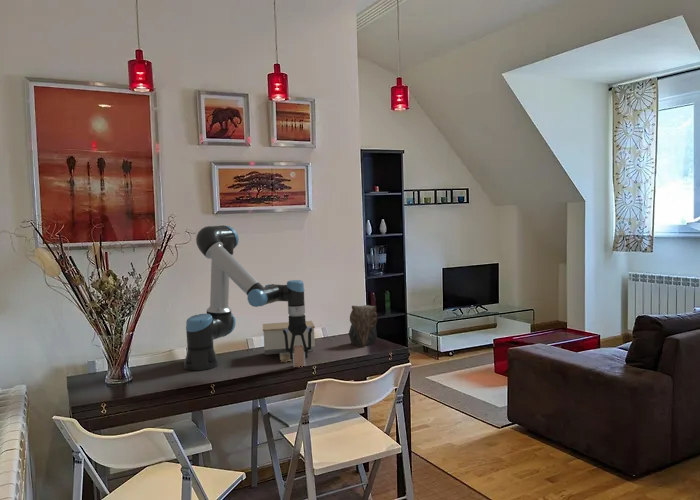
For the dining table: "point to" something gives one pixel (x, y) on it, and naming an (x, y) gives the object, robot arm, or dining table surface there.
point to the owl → (363, 325)
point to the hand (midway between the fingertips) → (299, 365)
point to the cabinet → (283, 337)
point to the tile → (285, 358)
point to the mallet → (296, 355)
